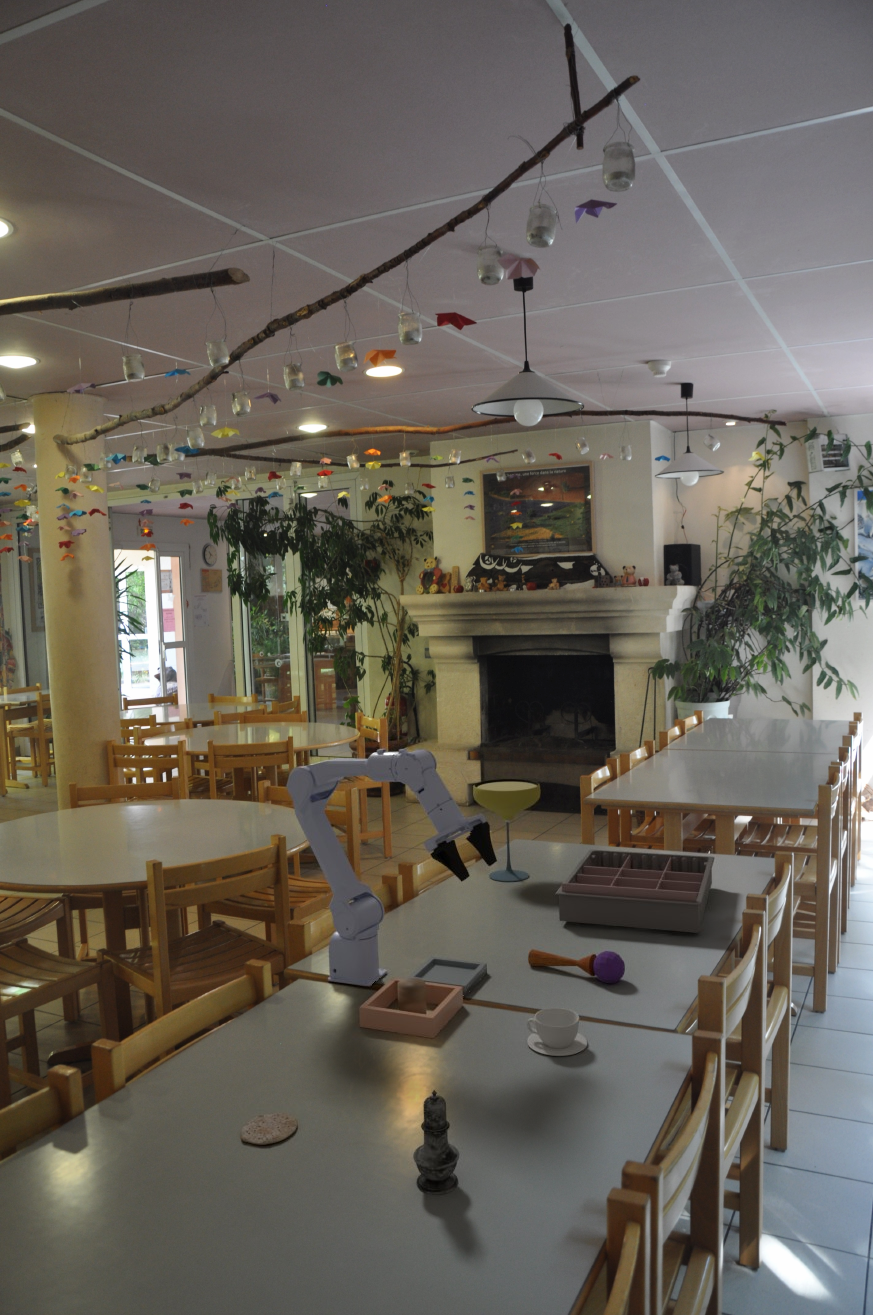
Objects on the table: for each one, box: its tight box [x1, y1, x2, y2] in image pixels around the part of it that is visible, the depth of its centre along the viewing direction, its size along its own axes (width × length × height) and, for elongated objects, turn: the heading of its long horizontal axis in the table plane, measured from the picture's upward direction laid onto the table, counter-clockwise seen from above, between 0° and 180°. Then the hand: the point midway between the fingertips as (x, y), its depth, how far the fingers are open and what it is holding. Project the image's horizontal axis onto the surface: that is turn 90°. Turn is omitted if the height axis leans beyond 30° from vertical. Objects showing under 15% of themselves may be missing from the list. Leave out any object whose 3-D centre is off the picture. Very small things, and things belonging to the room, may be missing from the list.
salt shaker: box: [412, 1089, 460, 1196], centre depth 120 cm, size 6×6×12 cm
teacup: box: [526, 1007, 588, 1057], centre depth 157 cm, size 10×10×5 cm
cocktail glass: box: [472, 778, 541, 883], centre depth 255 cm, size 18×18×25 cm
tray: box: [407, 955, 488, 997], centre depth 185 cm, size 12×12×2 cm
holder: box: [358, 977, 464, 1039], centre depth 169 cm, size 14×14×4 cm
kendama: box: [527, 948, 626, 984], centre depth 186 cm, size 6×6×20 cm
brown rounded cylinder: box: [397, 977, 427, 1014], centre depth 169 cm, size 5×5×6 cm
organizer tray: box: [554, 849, 715, 933], centre depth 227 cm, size 32×40×10 cm
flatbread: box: [240, 1112, 299, 1146], centre depth 133 cm, size 8×8×1 cm
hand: (479, 871), depth 172 cm, fingers open, 7 cm apart
